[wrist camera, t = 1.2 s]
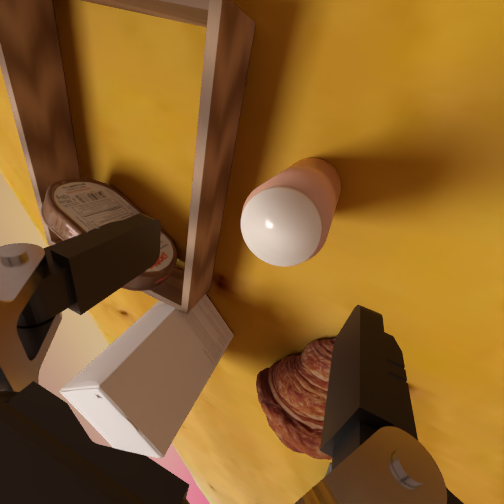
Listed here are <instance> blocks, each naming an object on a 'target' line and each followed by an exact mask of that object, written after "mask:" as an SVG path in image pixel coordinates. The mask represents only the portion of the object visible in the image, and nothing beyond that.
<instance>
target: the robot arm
mask: <svg viewBox="0 0 504 504" xmlns="http://www.w3.org/2000/svg"><path fill="white" fill-rule="evenodd" d="M160 237H161V224H160V222H159V221H158V220H156V219H154V218H152V217H149V216H147V215H145V214H142V213H139V214H136V215H134V216H131V217H129V218H126V219H124V220H120V221H114V222H110V223H107V224H105V225H102V226H100V227H98V229H97V228H94V229H92V230H89V231H88V232H87V233H86V232H84V233H82V234H79V235H77V236H74V237H72V238H69V239H67V240H64V241H61V242H59V243H56V244H54V245H51V246H49V247H46V248H44V249H43V248H42V247H40V246H38V245H34V244H28V243H18V244H9V245H4V246H1V247H0V504H190V503H189V502H188V501H187V499H186V496H187V492H188V488H189V484H187V483H186V482H184V481H183V480H181V479H180V478H178V477H177V476H175V475H174V474H172V473H171V472H169V471H168V470H166V469H165V468H163V467H162V466H160V465H159V464H157V463H156V462H154V461H153V460H151V459H150V458H148V457H147V456H144V455H140V454H136V453H132V452H128V451H124V450H120V449H115V448H111V447H107V446H103V445H99V444H96V443H94V442H92V440H91V439H90V438H89V436H88V435H87V433H86V432H85V430H84V429H83V427H82V426H81V424H80V422H79V421H78V419H77V418H76V416H75V415H74V413H73V412H72V410H71V409H70V407H69V405H68V404H67V403H66V402H64V401H63V400H61V399H60V398H58V397H57V396H55V395H54V394H52V393H51V392H49V391H48V390H46V389H45V388H43V387H42V386H40V385H39V384H38V376H39V370H40V367H41V364H42V362H43V360H44V358H45V356H46V353H47V351H48V349H49V347H50V344H51V342H52V340H53V337H54V335H55V333H56V331H57V328H58V326H59V324H60V322H61V319H62V313H61V312H62V311H64V310H65V309H67V308H69V309H71V310H73V311H75V312H76V313H78V314H80V315H82V314H83V313H85V312H86V311H87V310H89V309H90V308H92V307H93V306H95V305H96V304H98V303H99V302H101V301H102V300H104V299H105V298H107V297H108V296H109V295H111V294H112V293H114V292H115V291H117V290H118V289H120V288H121V287H123V286H124V285H126V284H127V283H128V282H130V281H131V280H133V279H134V278H136V277H137V276H139V275H140V274H142V273H143V272H145V271H146V270H147V269H149V268H150V267H152V266H153V265H154V264H155V263H156V262H157V260H158V258H159V255H160ZM404 367H405V366H404V360H403V354H402V351H401V349H400V347H399V346H398V344H397V342H396V340H395V339H394V337H393V336H392V335H389V334H387V333H385V332H384V326H383V318H382V315H381V314H379V313H377V312H375V311H372V310H370V309H367V308H365V307H363V306H360V305H357V306H356V307H355V308H354V310H353V311H352V313H351V315H350V316H349V318H348V319H347V321H346V323H345V324H344V326H343V328H342V329H341V331H340V332H339V334H338V336H337V338H336V340H335V343H334V347H333V351H332V359H331V367H330V375H329V383H328V391H327V399H326V407H325V415H324V423H323V431H322V438H321V446H320V451H322V452H323V453H325V454H327V455H329V456H331V457H332V469H331V472H330V473H329V474H328V475H327V476H326V477H324V478H323V479H322V480H321V481H320V482H319V483H318V484H316V485H315V486H314V487H313V488H312V489H310V490H309V491H308V492H307V493H306V494H305V495H304V496H303V497H301V498H300V499H299V500H298V501H297V502H296V503H295V504H464V503H462V502H461V501H460V500H459V499H458V498H457V497H455V496H454V495H453V494H452V493H451V492H450V491H449V490H448V489H447V488H446V486H445V482H444V479H443V476H442V474H441V472H440V470H439V468H438V466H437V464H436V462H435V461H434V459H433V458H432V456H431V455H430V454H429V452H428V451H427V450H426V449H425V447H424V446H423V445H422V444H421V443H420V442H419V441H418V438H417V433H416V427H415V422H414V416H413V410H412V405H411V399H410V394H409V388H408V383H406V381H407V377H406V371H405V370H404Z"/></svg>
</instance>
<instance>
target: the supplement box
mask: <svg viewBox="0 0 504 504" xmlns="http://www.w3.org/2000/svg"><path fill="white" fill-rule="evenodd" d="M233 337H234V334H233V333H232V332H231V330H230V329H229V327H228V326H227V324H226V323H225V321H224V320H223V318H222V317H221V315H220V314H219V313H218V311H217V310H216V308H215V307H214V305H213V304H212V302H211V301H210V299H209V298H208V296H207V295H206V294H205V295H204V296H203V297H202V298H201V299H200V300H199V302H198V303H197V304H196V305H195V306H194V307H193V308H192V309H191V310H190V311H189V313H188V314H186V313H184V312H182V311H180V310H178V309H176V308H174V307H172V306H170V305H168V304H166V303H164V302H162V301H160V300H159V301H158V302H157V303H156V304H155V305H154V306H153V307H152V308H150V309H149V310H148V311H147V312H146V313H145V314H144V315H143V316H142V317H140V318H139V319H138V320H137V321H136V322H135V323H134V324H133V325H132V326H131V327H129V328H128V329H127V330H126V331H125V332H124V333H123V334H122V335H121V336H120V337H118V338H117V339H116V340H115V341H114V342H113V343H112V344H111V345H110V346H108V347H107V348H106V349H105V350H104V351H103V352H102V353H101V354H100V355H98V356H97V357H96V358H95V359H94V360H93V361H92V362H91V363H90V364H88V365H87V366H86V367H85V368H84V369H83V370H82V371H81V372H79V373H78V374H77V375H76V376H75V377H74V378H73V379H72V380H70V381H69V382H68V383H67V384H66V385H65V386H64V387H63V388H62V389H61V390H60V393H61V394H62V395H63V396H64V397H65V398H66V399H67V400H68V401H69V402H70V403H71V404H72V405H73V406H74V407H75V408H76V409H77V410H78V411H79V412H80V413H81V414H82V415H83V416H84V417H85V418H86V420H87V421H88V422H89V423H90V424H91V425H92V426H93V427H94V428H95V429H96V430H97V431H98V432H99V433H100V434H101V435H102V436H103V437H104V438H105V439H106V441H107V442H108V443H109V444H110V445H111V446H112V447H113V448H115V449H120V450H124V451H128V452H133V453H138V454H143V455H147V456H151V457H157V458H162V457H164V455H165V453H166V451H167V450H168V448H169V446H170V444H171V443H172V441H173V439H174V437H175V436H176V434H177V432H178V430H179V429H180V427H181V425H182V424H183V422H184V420H185V419H186V417H187V415H188V413H189V412H190V410H191V408H192V407H193V405H194V403H195V401H196V400H197V398H198V396H199V395H200V393H201V391H202V390H203V388H204V386H205V384H206V383H207V381H208V379H209V378H210V376H211V374H212V372H213V371H214V369H215V367H216V366H217V364H218V362H219V361H220V359H221V357H222V355H223V354H224V352H225V350H226V349H227V347H228V345H229V343H230V342H231V340H232V339H233Z"/></svg>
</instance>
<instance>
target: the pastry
mask: <svg viewBox="0 0 504 504" xmlns="http://www.w3.org/2000/svg"><path fill="white" fill-rule="evenodd" d="M336 338H337V337H336ZM336 338H330V339H327V338H326V339H320V340H315V341H312V342H311V343H309V344H307V347H306V348H305V349H304V351H303V352H302V354H296V355H292V356H288V357H284V358H283V359H282V360H281V361H280V362H275V363H274V364H273V365H272V366H271V367H270V368H266V369H264V370H262V371H260V372H259V373H258V375H257V381H256V387H257V393H258V399H259V402H260V404H261V406H262V409H263V411H264V412H265V414H266V416H267V420H268V423H269V426H270V427H271V428H272V430H273V431H274V432H275V434H276V435H277V436H278V438H279V439H280V440H281V442H282V443H283V444H284V445H285V446H287V447H288V448H290V449H291V450H293V451H295V452H299V453H305V454H307V455H309V456H311V457H313V458H316V459H328V460H330V459H332V457H331V456H329V455H327V454H325V453H323V452H322V451H320V446H321V438H322V431H323V423H324V415H325V407H326V399H327V391H328V383H329V375H330V367H331V359H332V351H333V347H334V343H335V340H336Z"/></svg>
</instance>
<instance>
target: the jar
mask: <svg viewBox="0 0 504 504" xmlns="http://www.w3.org/2000/svg"><path fill="white" fill-rule="evenodd" d="M340 193H341V181H340V177H339V174H338V173H337V171H336V169H335V168H334V167H333V166H332V165H331V164H329V163H328V162H326V161H324V160H322V159H318V158H306V159H303V160H300V161H298V162H296V163H295V164H293V165H292V166H290V167H288V168H287V169H285V170H284V171H282V172H281V173H279V174H277V175H276V176H274V177H273V178H271V179H269V180H268V181H266V182H265V183H263V184H262V185H260V186H258V187H257V188H256V189H255V190H253V191H252V192H251V194H250V195H249V196H248V198H247V199H246V201H245V203H244V206H243V210H242V216H241V232H242V236H243V238H244V241H245V243H246V245H247V246H248V248H249V249H250V250H251V251H252V252H253V253H254V254H255V255H256V256H257V257H258V258H260V259H261V260H263V261H265V262H267V263H269V264H272V265H276V266H293V265H297V264H300V263H302V262H304V261H307V260H308V259H310V258H312V257H313V256H315V255H316V254H317V253H318V252H319V251H320V249H321V248H322V247H323V245H324V243H325V241H326V238H327V236H328V232H329V229H330V226H331V223H332V219H333V216H334V213H335V209H336V206H337V203H338V200H339V196H340Z"/></svg>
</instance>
